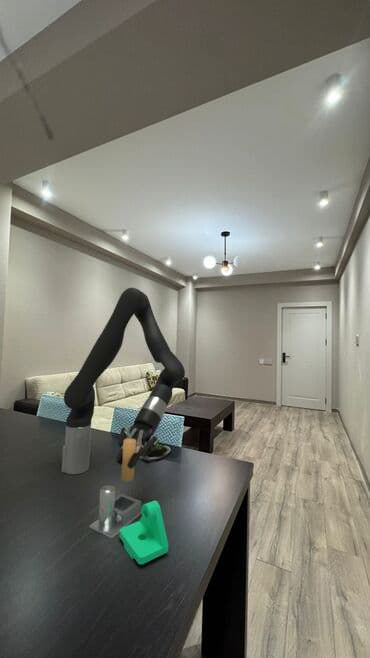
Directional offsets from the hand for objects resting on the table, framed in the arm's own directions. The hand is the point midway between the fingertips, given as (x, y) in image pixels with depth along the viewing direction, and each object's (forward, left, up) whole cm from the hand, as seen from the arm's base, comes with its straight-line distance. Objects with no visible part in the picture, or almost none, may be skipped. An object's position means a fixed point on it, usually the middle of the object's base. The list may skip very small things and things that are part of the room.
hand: (124, 465), depth 83 cm
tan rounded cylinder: (+1, +2, -5) cm, 5 cm away
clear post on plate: (-1, 0, -16) cm, 16 cm away
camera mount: (+7, -10, -16) cm, 20 cm away
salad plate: (+4, +47, -16) cm, 50 cm away
